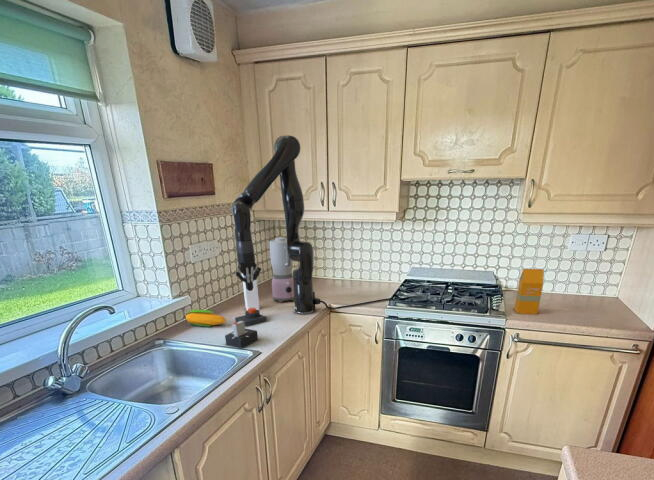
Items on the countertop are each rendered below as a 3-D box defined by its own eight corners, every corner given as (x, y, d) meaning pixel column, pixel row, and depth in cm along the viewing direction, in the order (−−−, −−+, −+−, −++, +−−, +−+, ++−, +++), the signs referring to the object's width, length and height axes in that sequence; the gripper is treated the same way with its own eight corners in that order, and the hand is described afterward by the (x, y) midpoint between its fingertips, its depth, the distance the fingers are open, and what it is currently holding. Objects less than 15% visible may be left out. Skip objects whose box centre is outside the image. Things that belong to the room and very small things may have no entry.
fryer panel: (242, 336, 169) (241, 327, 167) (260, 340, 165) (259, 330, 163) (223, 346, 160) (222, 336, 158) (242, 350, 156) (241, 340, 154)
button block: (256, 316, 193) (255, 308, 191) (266, 321, 187) (265, 313, 185) (235, 322, 187) (234, 313, 185) (245, 326, 180) (244, 318, 179)
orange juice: (537, 314, 190) (546, 271, 181) (517, 313, 191) (524, 270, 183) (533, 309, 197) (541, 267, 188) (514, 308, 198) (521, 267, 190)
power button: (253, 310, 190) (253, 307, 189) (257, 312, 187) (257, 308, 186) (247, 312, 187) (246, 308, 187) (251, 314, 185) (250, 310, 184)
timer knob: (241, 332, 162) (240, 320, 160) (245, 333, 161) (243, 320, 159) (234, 336, 158) (232, 323, 156) (237, 337, 157) (236, 324, 155)
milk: (257, 306, 208) (253, 263, 199) (259, 309, 203) (255, 265, 194) (245, 308, 206) (240, 264, 197) (247, 311, 201) (242, 266, 192)
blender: (269, 298, 221) (264, 237, 208) (289, 295, 227) (286, 235, 213) (281, 305, 209) (276, 241, 195) (302, 302, 214) (299, 239, 201)
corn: (190, 305, 185) (229, 308, 180) (193, 320, 189) (231, 324, 183) (180, 311, 179) (220, 314, 173) (184, 327, 182) (223, 330, 177)
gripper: (235, 254, 169) (241, 294, 177) (263, 249, 177) (267, 289, 185) (227, 252, 174) (232, 291, 182) (254, 247, 182) (258, 286, 190)
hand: (250, 290), depth 183 cm, fingers closed
